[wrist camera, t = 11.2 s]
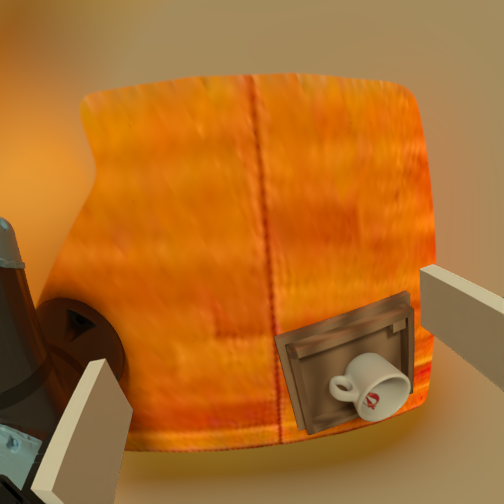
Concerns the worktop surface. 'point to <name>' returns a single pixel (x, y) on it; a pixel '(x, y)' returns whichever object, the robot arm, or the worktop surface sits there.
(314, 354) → the square wooden tray
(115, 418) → the robot arm
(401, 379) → the cup
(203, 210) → the worktop surface
